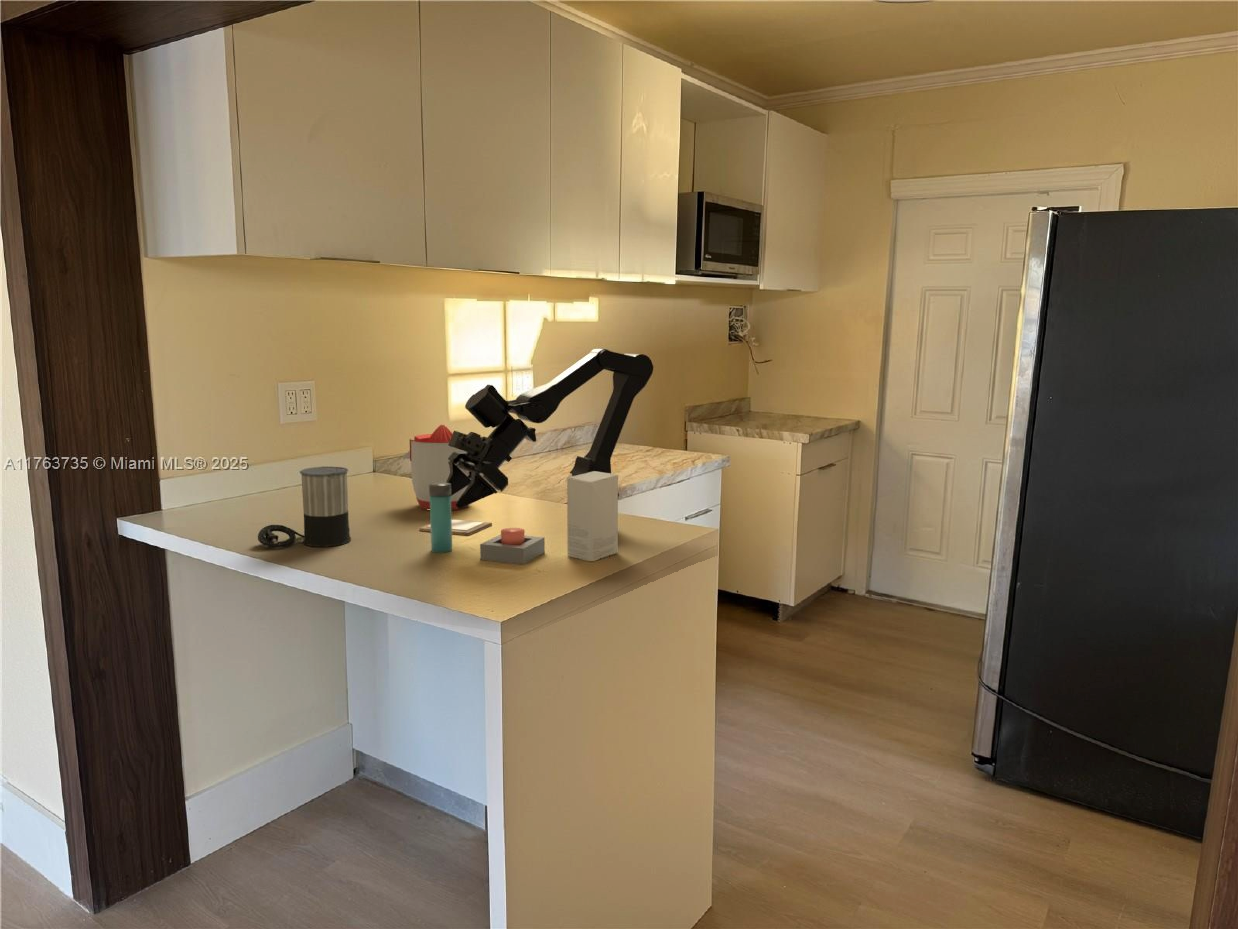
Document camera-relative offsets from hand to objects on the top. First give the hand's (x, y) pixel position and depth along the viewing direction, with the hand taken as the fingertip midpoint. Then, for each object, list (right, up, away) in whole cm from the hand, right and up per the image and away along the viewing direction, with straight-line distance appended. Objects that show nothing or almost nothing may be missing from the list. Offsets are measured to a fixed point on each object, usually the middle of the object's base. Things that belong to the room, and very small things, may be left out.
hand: (448, 503), depth 165 cm
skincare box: (+28, -10, -3) cm, 30 cm away
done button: (+13, -8, -4) cm, 16 cm away
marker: (-2, -9, +1) cm, 9 cm away
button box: (+13, -10, -4) cm, 17 cm away
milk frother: (-30, -9, +5) cm, 31 cm away
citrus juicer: (-10, -3, +41) cm, 42 cm away
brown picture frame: (-2, -6, +19) cm, 20 cm away
